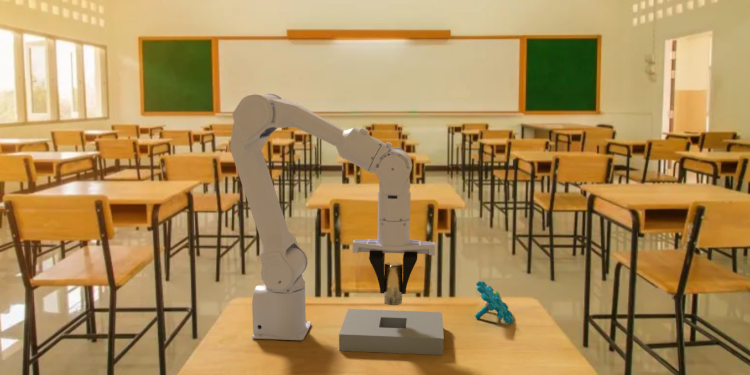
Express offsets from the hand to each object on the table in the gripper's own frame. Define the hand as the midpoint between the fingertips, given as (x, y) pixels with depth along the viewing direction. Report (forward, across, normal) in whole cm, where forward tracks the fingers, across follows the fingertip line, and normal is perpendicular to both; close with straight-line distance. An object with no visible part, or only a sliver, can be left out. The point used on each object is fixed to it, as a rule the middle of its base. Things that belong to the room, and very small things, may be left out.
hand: (393, 291), depth 106 cm
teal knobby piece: (+9, -20, -11) cm, 24 cm away
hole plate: (+9, 0, 0) cm, 9 cm away
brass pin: (+2, 0, 0) cm, 2 cm away
